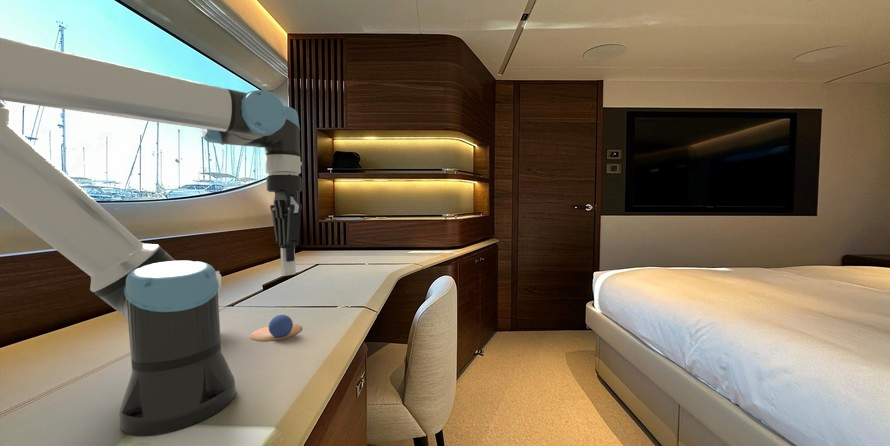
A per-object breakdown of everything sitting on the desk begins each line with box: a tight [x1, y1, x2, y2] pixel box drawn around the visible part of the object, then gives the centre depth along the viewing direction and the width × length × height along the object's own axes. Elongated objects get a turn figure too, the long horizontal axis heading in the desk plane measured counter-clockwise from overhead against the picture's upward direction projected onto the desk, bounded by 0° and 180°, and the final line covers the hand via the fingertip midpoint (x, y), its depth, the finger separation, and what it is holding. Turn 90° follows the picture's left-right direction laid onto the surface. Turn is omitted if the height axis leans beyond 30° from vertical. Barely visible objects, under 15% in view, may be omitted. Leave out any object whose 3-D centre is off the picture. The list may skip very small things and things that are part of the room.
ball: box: [268, 314, 294, 338], centre depth 88 cm, size 6×6×6 cm
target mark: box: [250, 323, 302, 342], centre depth 92 cm, size 12×12×1 cm
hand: (288, 274), depth 84 cm, fingers closed
